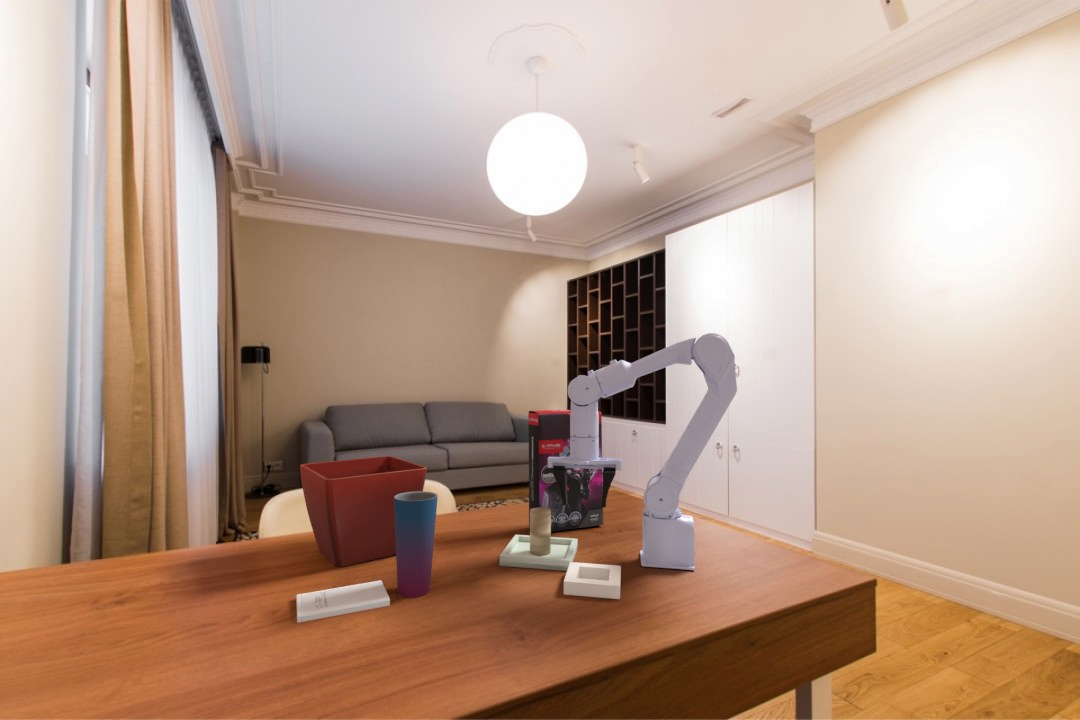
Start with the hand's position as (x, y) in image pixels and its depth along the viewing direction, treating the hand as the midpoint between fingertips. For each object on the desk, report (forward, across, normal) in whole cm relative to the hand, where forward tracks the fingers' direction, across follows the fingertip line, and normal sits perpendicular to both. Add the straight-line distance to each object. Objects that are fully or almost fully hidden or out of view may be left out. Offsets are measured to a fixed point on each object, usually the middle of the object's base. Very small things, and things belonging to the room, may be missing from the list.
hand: (584, 505), depth 98 cm
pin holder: (+9, +3, -16) cm, 18 cm away
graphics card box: (+10, -6, +17) cm, 20 cm away
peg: (+8, -8, -4) cm, 12 cm away
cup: (+9, -25, -23) cm, 36 cm away
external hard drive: (+10, -34, -29) cm, 46 cm away
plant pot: (+9, -43, -8) cm, 45 cm away
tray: (+9, -8, -4) cm, 13 cm away
